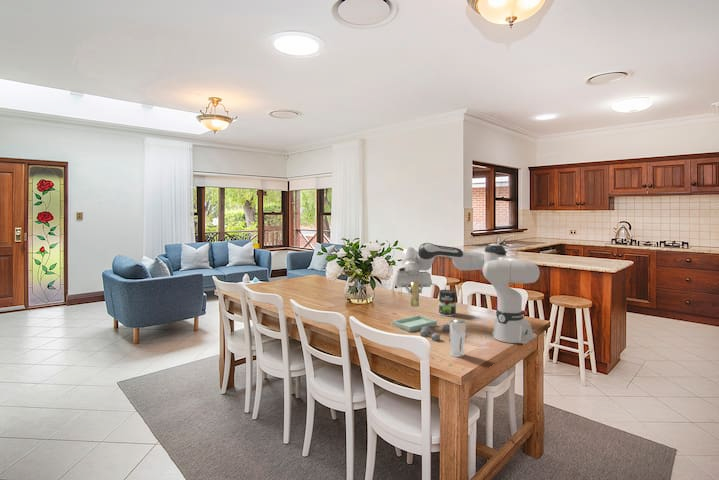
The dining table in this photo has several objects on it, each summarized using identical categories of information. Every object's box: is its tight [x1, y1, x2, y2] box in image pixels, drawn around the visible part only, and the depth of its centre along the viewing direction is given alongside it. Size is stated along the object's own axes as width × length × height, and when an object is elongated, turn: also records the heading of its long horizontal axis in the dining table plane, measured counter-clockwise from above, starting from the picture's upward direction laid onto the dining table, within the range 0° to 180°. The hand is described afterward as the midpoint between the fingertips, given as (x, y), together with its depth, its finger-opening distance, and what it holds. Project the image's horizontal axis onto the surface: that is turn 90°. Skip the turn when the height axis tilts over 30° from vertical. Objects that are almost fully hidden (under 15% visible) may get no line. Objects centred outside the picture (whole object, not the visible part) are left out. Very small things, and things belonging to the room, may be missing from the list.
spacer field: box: [419, 324, 451, 343], centre depth 193 cm, size 19×21×2 cm
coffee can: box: [438, 289, 457, 317], centre depth 232 cm, size 10×10×14 cm
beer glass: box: [448, 318, 467, 358], centre depth 167 cm, size 7×7×15 cm
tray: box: [392, 314, 438, 333], centre depth 210 cm, size 20×14×3 cm
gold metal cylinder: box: [410, 282, 420, 308], centre depth 208 cm, size 4×4×13 cm
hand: (415, 292), depth 208 cm, fingers closed on gold metal cylinder, 4 cm apart
